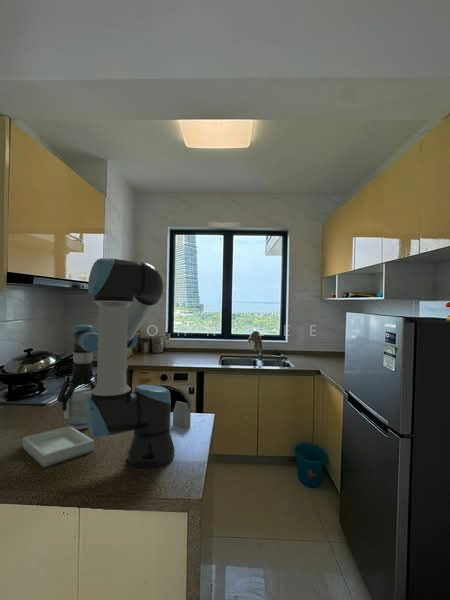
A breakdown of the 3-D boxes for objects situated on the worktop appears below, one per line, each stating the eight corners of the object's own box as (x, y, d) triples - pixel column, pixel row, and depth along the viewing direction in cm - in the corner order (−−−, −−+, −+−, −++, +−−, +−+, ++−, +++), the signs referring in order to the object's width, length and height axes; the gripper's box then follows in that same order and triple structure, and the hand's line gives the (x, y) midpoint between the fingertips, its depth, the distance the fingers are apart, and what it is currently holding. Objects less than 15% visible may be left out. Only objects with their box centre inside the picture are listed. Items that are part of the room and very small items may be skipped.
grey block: (184, 429, 130) (184, 405, 130) (172, 425, 134) (173, 402, 134) (190, 427, 133) (190, 403, 133) (178, 423, 137) (179, 400, 137)
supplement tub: (95, 427, 130) (96, 391, 130) (69, 432, 125) (71, 394, 125) (90, 420, 138) (91, 386, 139) (66, 424, 133) (67, 389, 133)
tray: (93, 450, 109) (94, 440, 109) (43, 467, 97) (43, 455, 97) (69, 434, 122) (69, 425, 122) (22, 447, 110) (22, 437, 110)
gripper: (105, 358, 144) (103, 406, 143) (48, 364, 126) (47, 419, 125) (113, 360, 139) (112, 410, 138) (56, 366, 121) (54, 424, 120)
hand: (81, 414), depth 132 cm, fingers open, 11 cm apart
